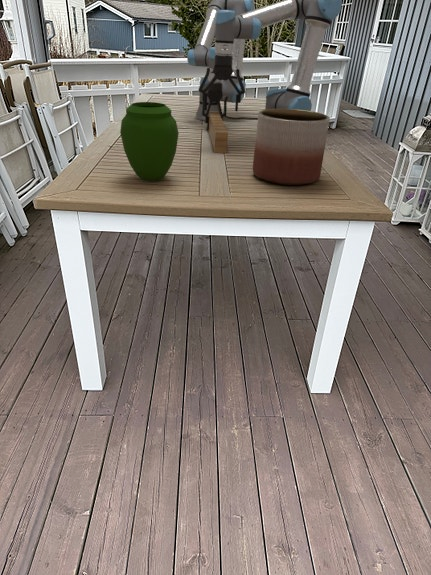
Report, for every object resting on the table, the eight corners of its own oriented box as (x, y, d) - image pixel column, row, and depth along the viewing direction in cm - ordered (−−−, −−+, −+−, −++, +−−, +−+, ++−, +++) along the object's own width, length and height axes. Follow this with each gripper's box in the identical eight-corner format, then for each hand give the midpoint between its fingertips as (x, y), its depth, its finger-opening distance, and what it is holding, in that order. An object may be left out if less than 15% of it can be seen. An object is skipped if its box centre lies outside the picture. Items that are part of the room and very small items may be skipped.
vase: (131, 189, 135) (125, 110, 122) (118, 172, 150) (112, 100, 137) (186, 184, 142) (187, 109, 129) (169, 168, 157) (167, 99, 144)
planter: (329, 187, 147) (342, 121, 135) (261, 187, 143) (268, 120, 131) (305, 166, 168) (314, 109, 156) (245, 167, 164) (250, 107, 152)
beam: (207, 127, 228) (208, 110, 223) (217, 128, 228) (218, 111, 223) (214, 152, 182) (215, 132, 177) (226, 152, 182) (228, 132, 178)
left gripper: (197, 82, 205) (196, 130, 217) (234, 83, 206) (231, 131, 219) (197, 80, 211) (196, 128, 223) (232, 82, 213) (229, 129, 225)
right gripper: (193, 54, 165) (193, 110, 176) (254, 57, 167) (250, 112, 178) (193, 53, 171) (192, 107, 182) (252, 56, 173) (247, 109, 184)
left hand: (213, 129), depth 221 cm, fingers closed on beam, 5 cm apart
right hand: (221, 110), depth 180 cm, fingers open, 13 cm apart
